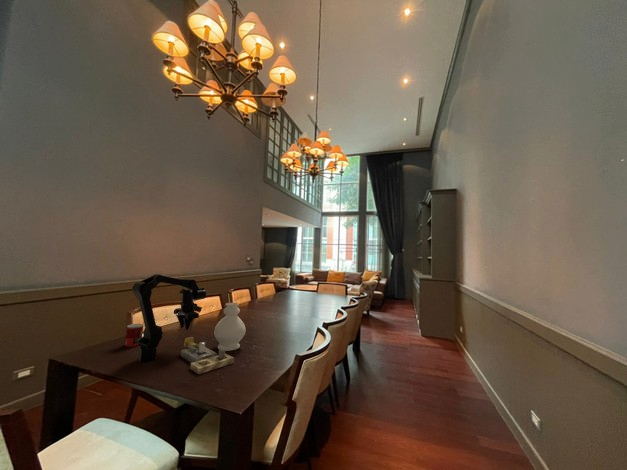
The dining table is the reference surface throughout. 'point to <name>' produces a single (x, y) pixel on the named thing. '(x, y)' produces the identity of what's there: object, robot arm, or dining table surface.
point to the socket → (196, 354)
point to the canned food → (133, 335)
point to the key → (190, 342)
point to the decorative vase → (230, 328)
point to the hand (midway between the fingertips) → (184, 328)
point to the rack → (212, 363)
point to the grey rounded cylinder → (201, 348)
